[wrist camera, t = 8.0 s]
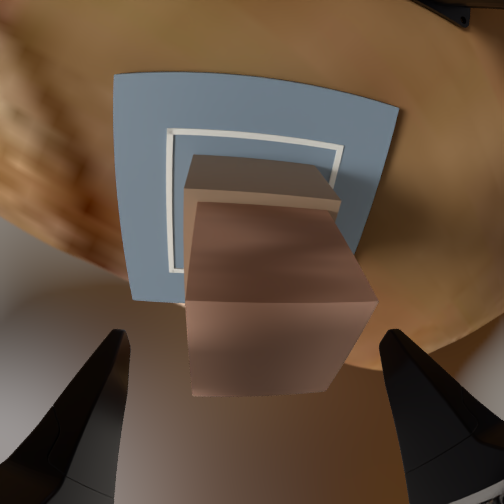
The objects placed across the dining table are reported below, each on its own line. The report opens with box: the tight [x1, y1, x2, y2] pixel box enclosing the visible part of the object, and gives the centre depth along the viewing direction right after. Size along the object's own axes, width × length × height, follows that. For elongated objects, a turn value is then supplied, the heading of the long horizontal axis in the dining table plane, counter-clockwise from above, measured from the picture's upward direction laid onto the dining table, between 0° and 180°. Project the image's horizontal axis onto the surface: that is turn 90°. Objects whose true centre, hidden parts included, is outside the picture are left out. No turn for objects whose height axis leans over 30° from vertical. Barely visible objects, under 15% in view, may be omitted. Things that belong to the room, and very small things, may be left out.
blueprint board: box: [113, 72, 399, 306], centre depth 15 cm, size 14×14×5 cm
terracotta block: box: [185, 201, 379, 397], centre depth 11 cm, size 5×5×5 cm
